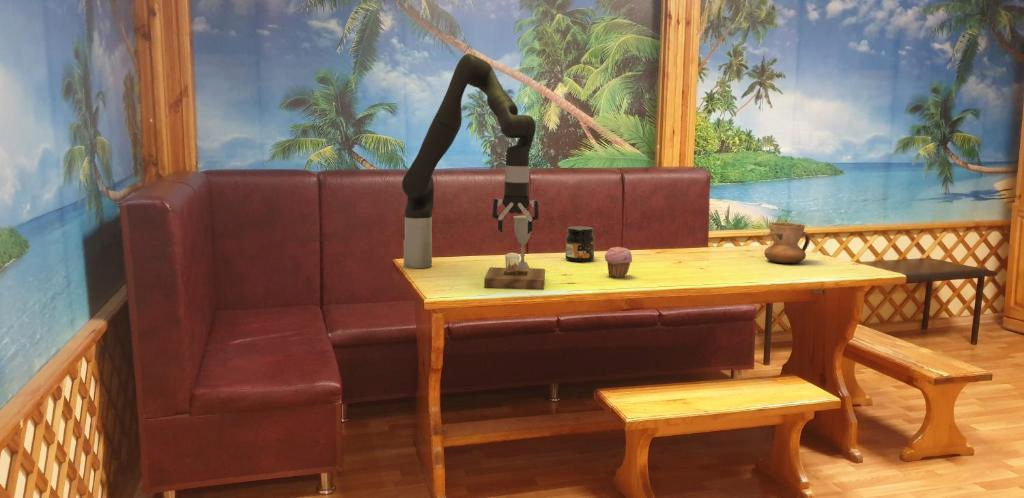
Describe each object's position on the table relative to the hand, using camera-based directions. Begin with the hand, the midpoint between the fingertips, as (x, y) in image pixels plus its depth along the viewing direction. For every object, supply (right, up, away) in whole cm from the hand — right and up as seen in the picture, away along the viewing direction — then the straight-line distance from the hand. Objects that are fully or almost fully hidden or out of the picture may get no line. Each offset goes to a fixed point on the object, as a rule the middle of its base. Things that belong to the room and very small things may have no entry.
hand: (515, 232), depth 248 cm
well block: (0, -16, +3) cm, 16 cm away
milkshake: (-1, -16, +3) cm, 16 cm away
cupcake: (+34, -14, +15) cm, 40 cm away
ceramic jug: (+100, -10, +46) cm, 111 cm away
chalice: (+3, -12, +26) cm, 28 cm away
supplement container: (+24, -9, +44) cm, 51 cm away
